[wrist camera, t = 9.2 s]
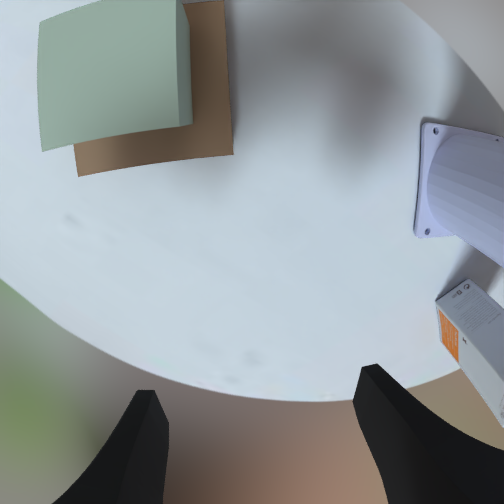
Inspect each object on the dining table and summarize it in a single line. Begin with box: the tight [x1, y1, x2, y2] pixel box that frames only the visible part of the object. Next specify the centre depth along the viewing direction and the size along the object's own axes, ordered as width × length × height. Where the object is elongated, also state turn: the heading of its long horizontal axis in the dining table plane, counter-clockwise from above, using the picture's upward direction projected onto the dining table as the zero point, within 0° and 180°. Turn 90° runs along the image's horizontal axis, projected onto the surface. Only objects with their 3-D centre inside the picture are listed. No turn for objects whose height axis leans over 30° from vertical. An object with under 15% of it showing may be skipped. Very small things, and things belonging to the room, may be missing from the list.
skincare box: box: [436, 279, 504, 428], centre depth 18 cm, size 6×4×12 cm
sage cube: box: [37, 0, 193, 152], centre depth 10 cm, size 5×5×5 cm
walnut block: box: [74, 0, 234, 177], centre depth 13 cm, size 8×8×3 cm
